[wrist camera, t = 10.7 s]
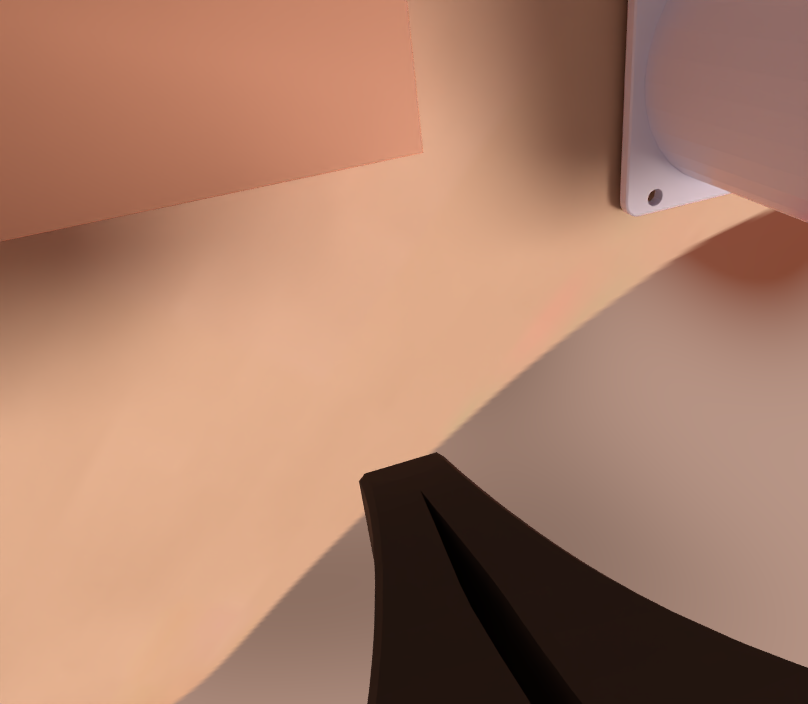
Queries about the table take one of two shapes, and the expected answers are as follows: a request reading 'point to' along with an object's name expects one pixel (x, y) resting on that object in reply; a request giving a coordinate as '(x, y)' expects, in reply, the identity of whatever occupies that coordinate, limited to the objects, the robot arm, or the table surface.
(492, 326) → the table surface
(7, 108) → the brown square hole board
